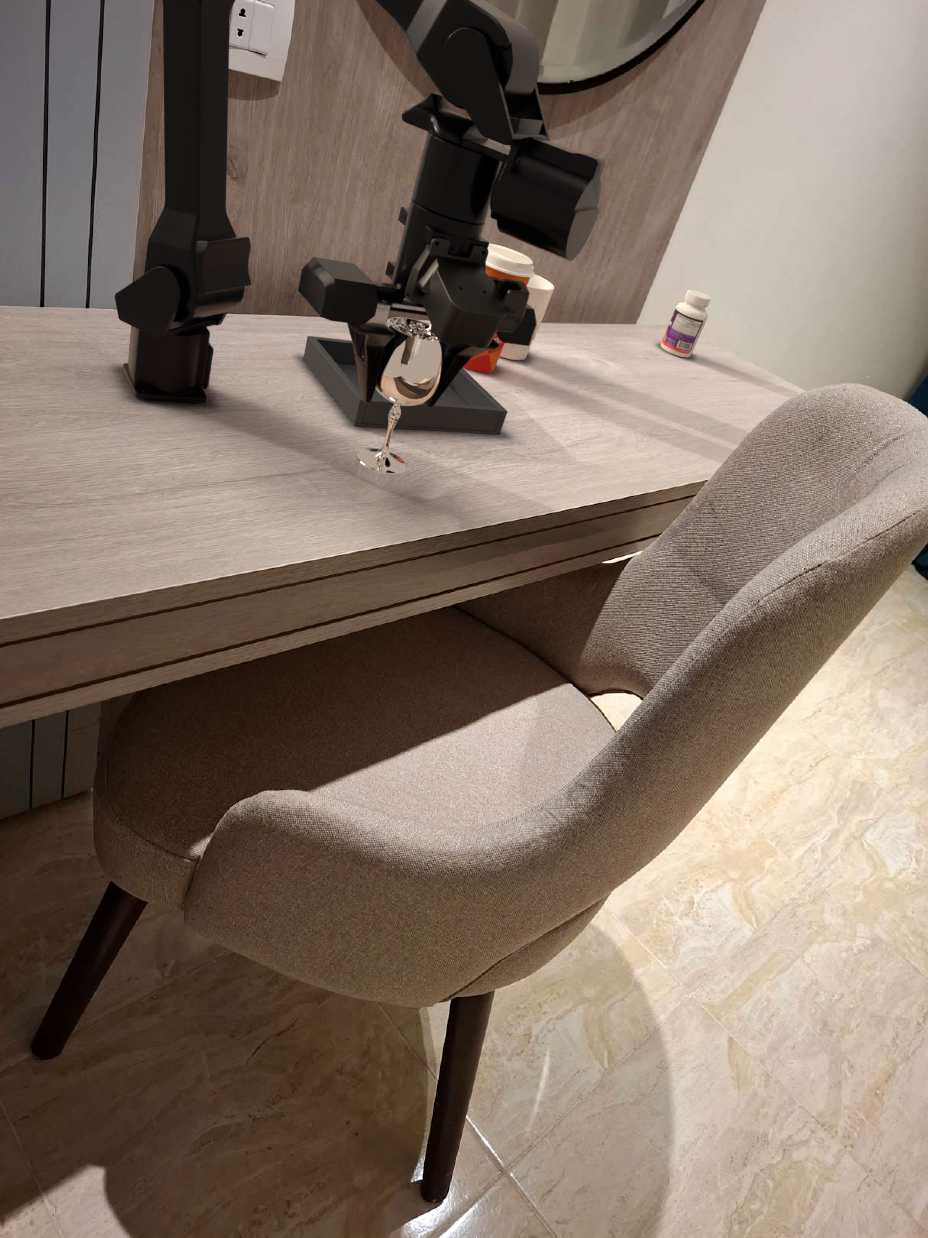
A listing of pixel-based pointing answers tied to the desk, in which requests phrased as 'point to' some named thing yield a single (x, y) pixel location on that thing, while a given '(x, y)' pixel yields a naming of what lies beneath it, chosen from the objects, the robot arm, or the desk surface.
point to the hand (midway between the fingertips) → (396, 403)
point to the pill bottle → (686, 324)
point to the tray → (454, 410)
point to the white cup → (539, 302)
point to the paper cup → (501, 266)
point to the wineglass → (404, 382)
